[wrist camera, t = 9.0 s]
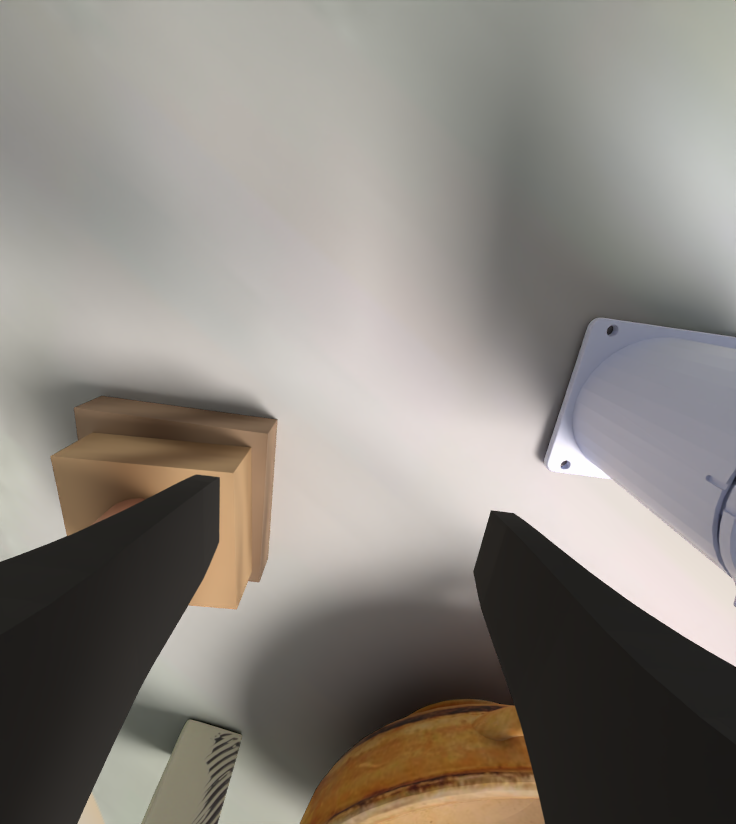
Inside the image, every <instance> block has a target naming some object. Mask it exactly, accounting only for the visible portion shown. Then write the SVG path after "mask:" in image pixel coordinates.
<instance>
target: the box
mask: <svg viewBox="0 0 736 824" xmlns="http://www.w3.org/2000/svg"><path fill="white" fill-rule="evenodd" d="M241 740H242V735H241V734H237V733H234V732H231V731H228V730H225V729H221V728H218V727H215V726H212V725H208V724H205V723H202V722H199V721H195V720H187V722H186V724H185V725H184V727H183V729H182V731H181V733H180V736H179V738H178V740H177V742H176V744H175V747H174V749H173V752H172V754H171V756H170V759H169V761H168V763H167V765H166V768H165V770H164V772H163V774H162V777H161V779H160V781H159V784H158V786H157V788H156V790H155V793H154V795H153V797H152V800H151V802H150V804H149V807H148V809H147V811H146V814H145V816H144V818H143V821H142V823H141V824H218V820H219V817H220V814H221V810H222V806H223V803H224V800H225V796H226V792H227V789H228V786H229V782H230V778H231V775H232V771H233V768H234V765H235V761H236V758H237V754H238V751H239V747H240V743H241Z"/></svg>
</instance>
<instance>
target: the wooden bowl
mask: <svg viewBox="0 0 736 824" xmlns="http://www.w3.org/2000/svg"><path fill="white" fill-rule="evenodd" d="M300 824H545V821H544V817H543V813H542V808H541V804H540V800H539V795H538V791H537V787H536V783H535V778H534V775H533V771H532V767H531V763H530V759H529V755H528V751H527V747H526V743H525V739H524V736H523V732H522V728H521V724H520V721H519V718H518V715H517V711H516V708H515V705H503V704H498V703H495V702H490V701H486V700H478V699H454V700H447V701H442V702H438V703H434V704H431V705H428V706H426V707H423V708H421V709H419V710H417V711H415V712H414V713H412V714H410V715H409V716H407V717H405V718H402V719H400V720H397V721H395V722H392V723H390V724H387V725H386V726H384V727H382V728H380V729H379V730H377V731H375V732H373V733H372V734H370V735H368V736H367V737H365V738H363V739H362V740H361V741H359V742H358V743H357V744H356V745H355V746H353V747H352V748H351V749H350V750H349V751H347V752H346V753H345V754H344V755H343V756H342V757H341V758H340V759H339V760H338V761H337V763H336V764H335V765H334V766H333V767H332V769H331V770H330V771H329V772H328V773H327V775H326V776H325V777H324V778H323V780H322V781H321V782H320V784H319V785H318V787H317V788H316V790H315V792H314V794H313V796H312V798H311V800H310V803H309V805H308V807H307V809H306V811H305V813H304V815H303V817H302V820H301V822H300Z"/></svg>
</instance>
